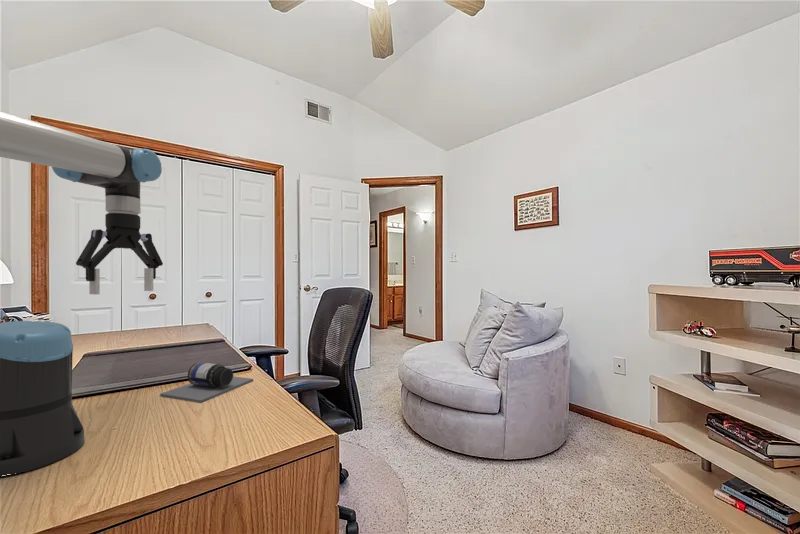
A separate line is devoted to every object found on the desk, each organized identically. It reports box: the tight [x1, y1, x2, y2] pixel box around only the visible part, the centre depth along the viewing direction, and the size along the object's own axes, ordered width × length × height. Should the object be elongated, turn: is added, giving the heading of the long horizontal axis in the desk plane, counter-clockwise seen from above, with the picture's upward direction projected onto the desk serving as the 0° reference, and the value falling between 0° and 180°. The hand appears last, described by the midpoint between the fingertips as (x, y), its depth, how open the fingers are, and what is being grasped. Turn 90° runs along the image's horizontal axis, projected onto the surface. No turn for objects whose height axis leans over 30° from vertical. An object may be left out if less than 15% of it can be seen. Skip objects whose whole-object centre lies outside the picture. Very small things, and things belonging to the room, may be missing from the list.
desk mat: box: [159, 375, 254, 404], centre depth 100 cm, size 18×14×1 cm
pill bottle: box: [187, 361, 234, 388], centre depth 99 cm, size 6×6×11 cm
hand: (123, 292), depth 97 cm, fingers open, 13 cm apart
